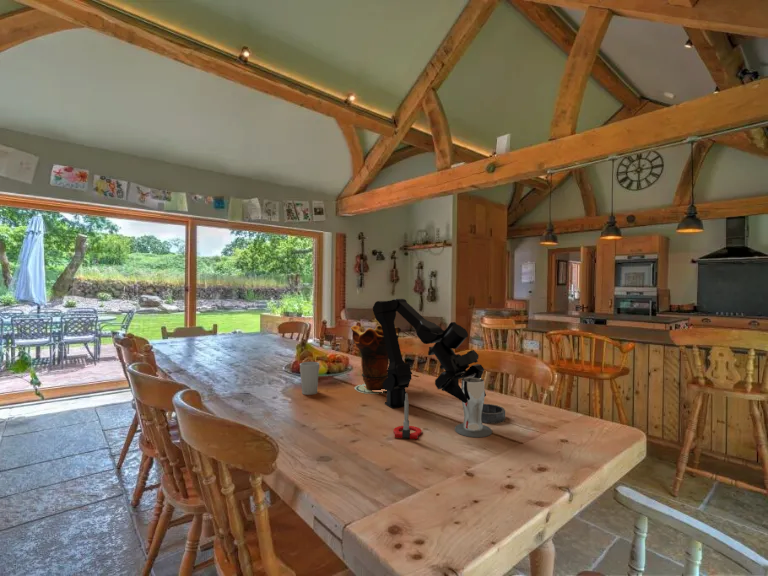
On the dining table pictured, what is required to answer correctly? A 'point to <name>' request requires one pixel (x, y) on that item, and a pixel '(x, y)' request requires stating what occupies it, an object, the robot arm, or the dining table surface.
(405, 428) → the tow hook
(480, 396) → the beer glass
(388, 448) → the dining table surface
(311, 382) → the cup
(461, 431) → the coaster
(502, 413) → the ring holder
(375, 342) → the decorative vase
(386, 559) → the dining table surface
